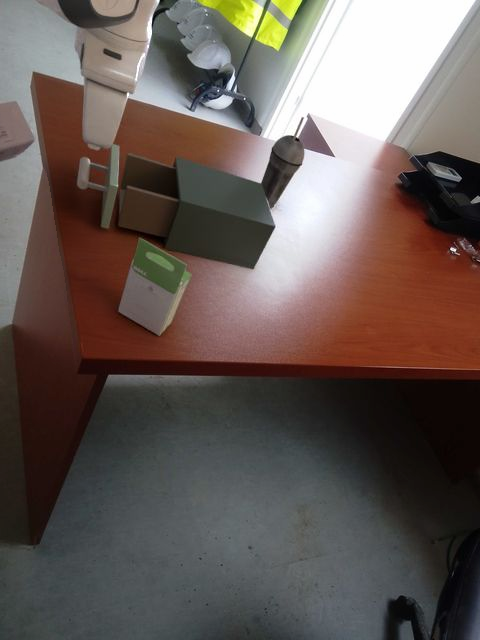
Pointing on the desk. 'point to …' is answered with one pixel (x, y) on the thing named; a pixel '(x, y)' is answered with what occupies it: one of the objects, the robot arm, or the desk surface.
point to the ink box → (153, 287)
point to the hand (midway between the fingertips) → (93, 144)
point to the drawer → (136, 192)
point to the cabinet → (219, 216)
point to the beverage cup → (282, 166)
